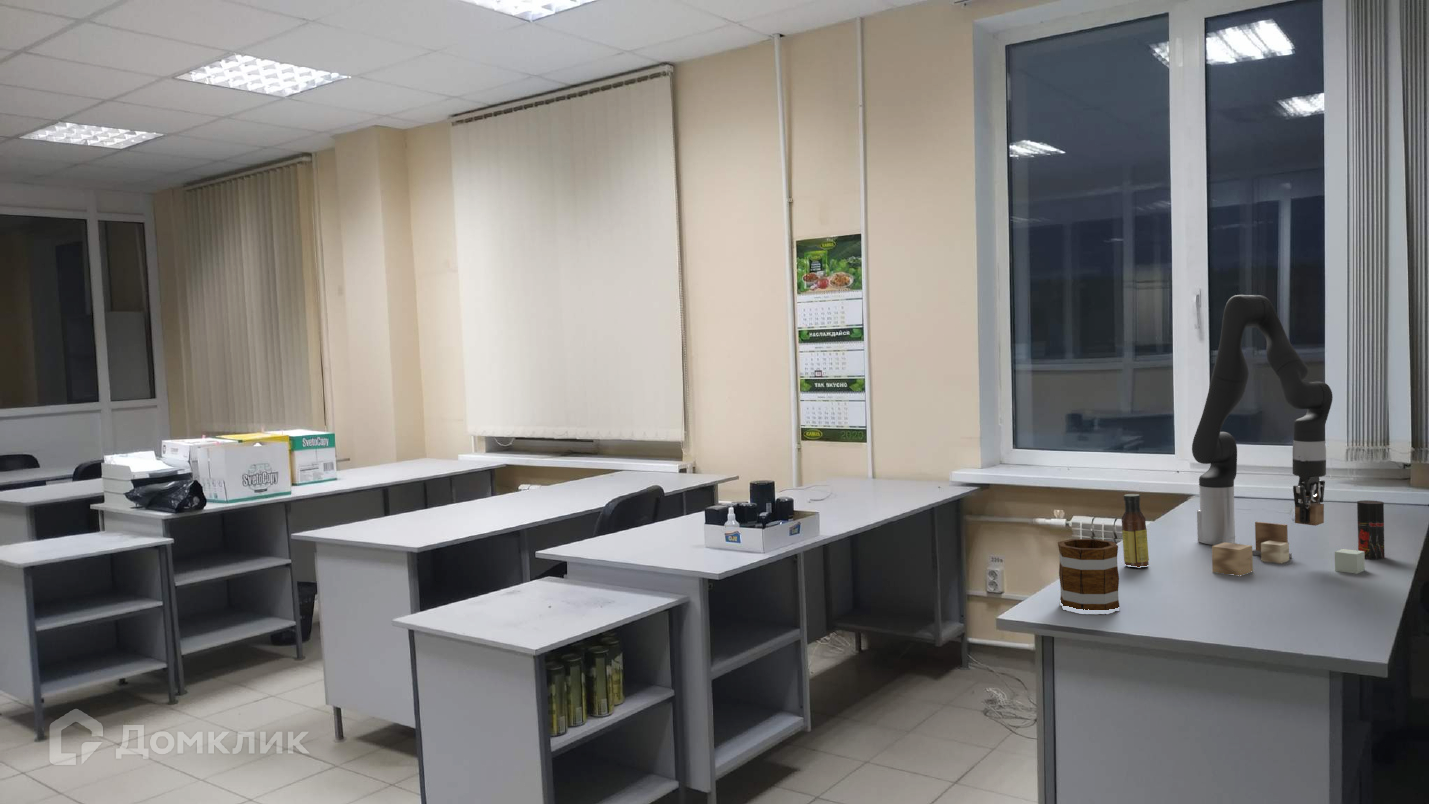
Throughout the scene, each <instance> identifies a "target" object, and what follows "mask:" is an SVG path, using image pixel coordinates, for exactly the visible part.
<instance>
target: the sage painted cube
mask: <svg viewBox="0 0 1429 804" xmlns="http://www.w3.org/2000/svg"><path fill="white" fill-rule="evenodd" d="M1365 559H1366V558H1365V554H1364V551H1358V549H1357V550H1356V549H1346V548H1341V549H1339V550H1336V551H1334V571H1336V572H1342V573H1350V574H1360V573H1363V572H1364V571H1365V570H1366V565H1365V563H1366V560H1365Z"/></svg>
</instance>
